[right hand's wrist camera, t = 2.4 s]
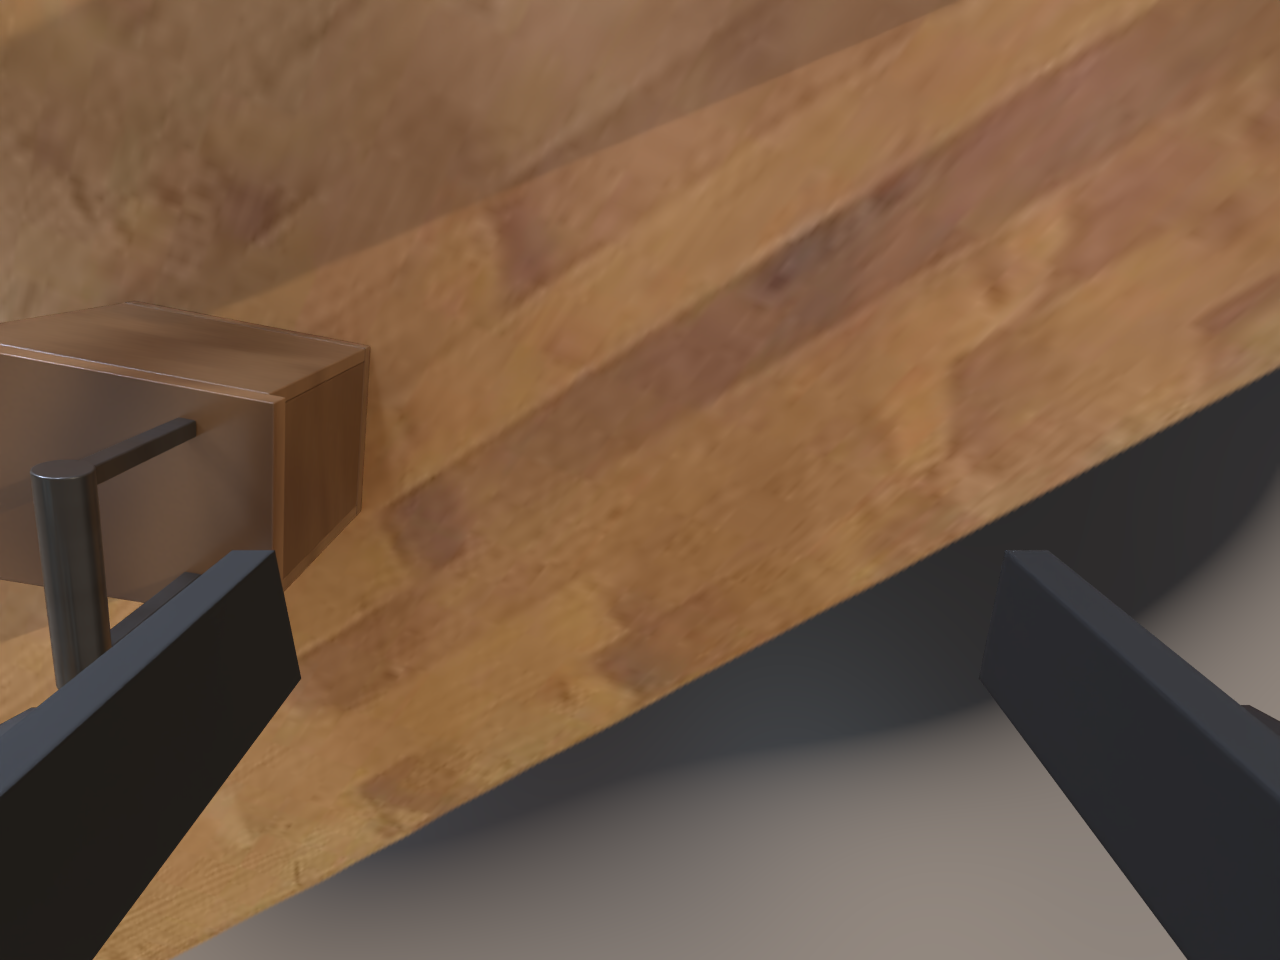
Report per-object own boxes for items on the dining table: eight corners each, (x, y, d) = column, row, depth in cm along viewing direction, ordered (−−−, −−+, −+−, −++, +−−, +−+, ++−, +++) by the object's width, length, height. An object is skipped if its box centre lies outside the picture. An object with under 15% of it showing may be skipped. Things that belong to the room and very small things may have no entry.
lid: (286, 397, 27) (155, 462, 20) (283, 612, 31) (171, 735, 23) (-64, 332, 26) (-335, 376, 19) (-26, 561, 30) (-244, 673, 22)
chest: (370, 345, 37) (269, 393, 27) (361, 511, 41) (268, 609, 31) (133, 300, 37) (-63, 332, 26) (144, 473, 40) (-25, 560, 30)
